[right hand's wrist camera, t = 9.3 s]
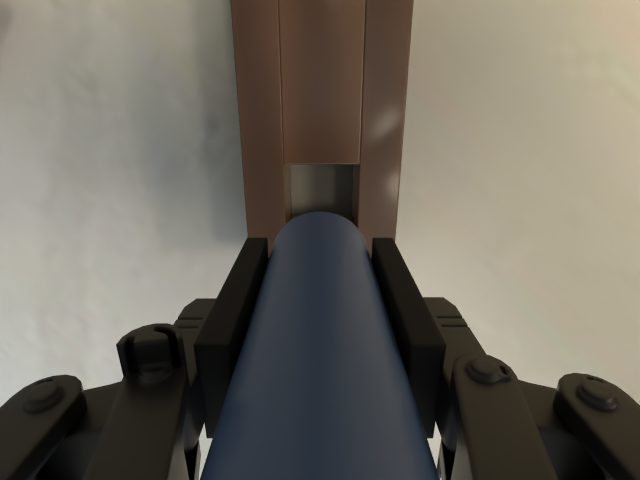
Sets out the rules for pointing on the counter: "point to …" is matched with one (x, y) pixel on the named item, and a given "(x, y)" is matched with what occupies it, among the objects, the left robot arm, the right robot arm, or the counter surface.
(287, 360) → the peg
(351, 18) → the peg block
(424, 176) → the counter surface
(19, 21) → the counter surface
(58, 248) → the counter surface
